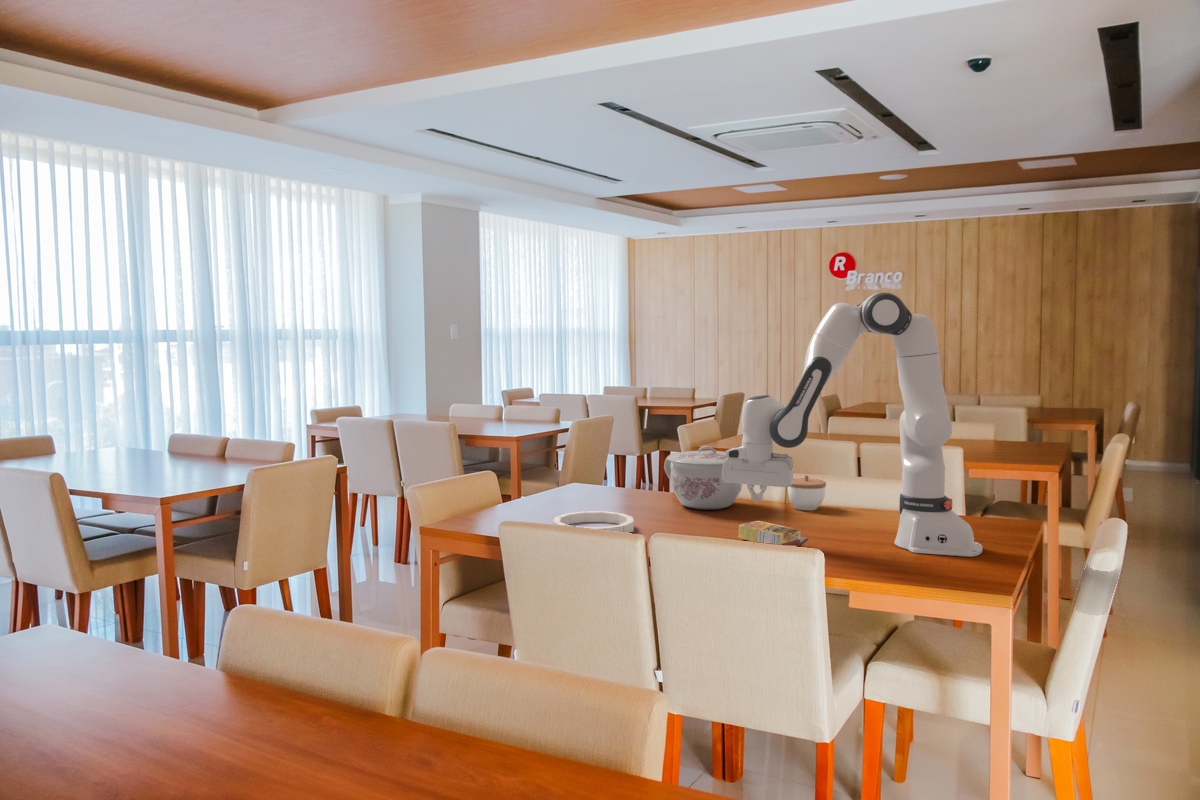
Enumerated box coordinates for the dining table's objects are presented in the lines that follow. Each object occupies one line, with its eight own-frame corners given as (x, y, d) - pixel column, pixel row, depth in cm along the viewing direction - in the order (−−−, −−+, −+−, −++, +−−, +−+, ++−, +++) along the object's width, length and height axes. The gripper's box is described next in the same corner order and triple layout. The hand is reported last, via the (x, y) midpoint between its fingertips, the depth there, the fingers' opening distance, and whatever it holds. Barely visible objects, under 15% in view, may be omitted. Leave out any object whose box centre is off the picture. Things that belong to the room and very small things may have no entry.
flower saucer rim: (646, 525, 265) (646, 515, 264) (609, 542, 244) (609, 532, 243) (579, 517, 276) (579, 508, 276) (538, 533, 255) (538, 523, 255)
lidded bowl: (804, 513, 280) (805, 480, 280) (779, 506, 291) (779, 474, 291) (833, 509, 286) (834, 476, 286) (807, 503, 297) (807, 471, 297)
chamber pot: (758, 513, 282) (758, 450, 280) (676, 516, 278) (676, 452, 276) (733, 496, 309) (733, 439, 307) (658, 499, 305) (658, 441, 304)
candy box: (758, 519, 251) (801, 528, 239) (758, 534, 251) (801, 544, 239) (738, 524, 245) (780, 533, 233) (738, 539, 245) (780, 549, 233)
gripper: (796, 453, 243) (795, 501, 244) (727, 448, 253) (727, 495, 254) (789, 456, 238) (789, 505, 239) (720, 451, 248) (719, 498, 249)
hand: (756, 500), depth 247 cm, fingers closed
